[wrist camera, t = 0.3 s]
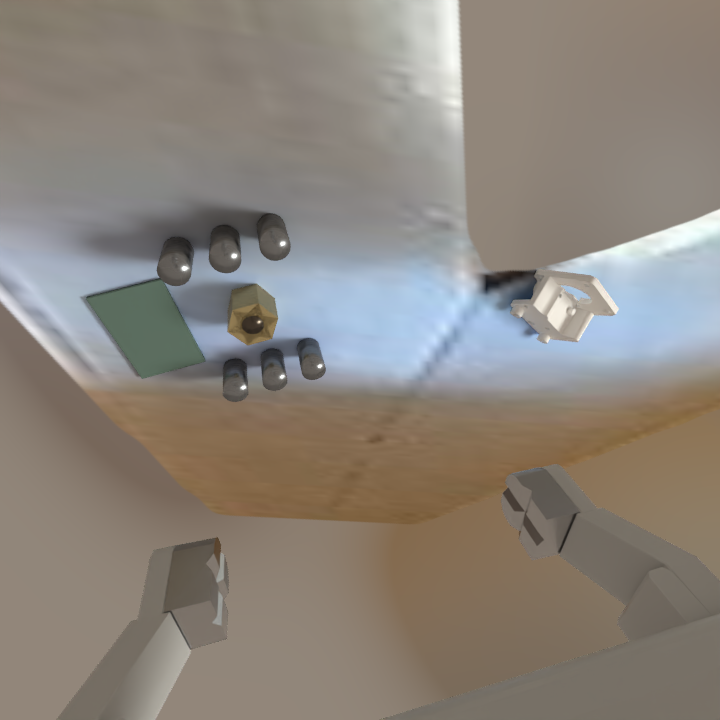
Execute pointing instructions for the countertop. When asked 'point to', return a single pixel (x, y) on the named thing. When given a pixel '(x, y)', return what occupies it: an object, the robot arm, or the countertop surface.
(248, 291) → the brass nut
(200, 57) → the countertop surface
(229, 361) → the spacer rows
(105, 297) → the rubber mat
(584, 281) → the mounting bracket
